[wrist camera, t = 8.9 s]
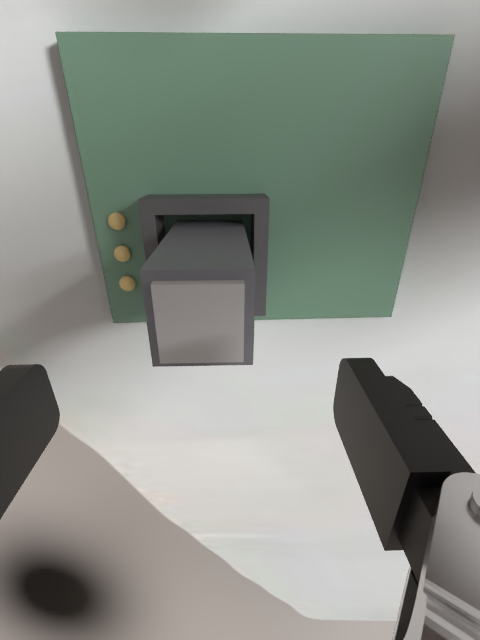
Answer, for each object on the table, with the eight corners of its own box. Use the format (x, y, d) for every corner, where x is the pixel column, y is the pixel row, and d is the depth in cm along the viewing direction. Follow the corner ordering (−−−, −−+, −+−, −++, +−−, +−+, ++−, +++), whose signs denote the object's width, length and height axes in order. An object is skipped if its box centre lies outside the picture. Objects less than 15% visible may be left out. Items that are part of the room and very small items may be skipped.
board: (443, 40, 18) (490, 15, 14) (385, 311, 25) (408, 333, 22) (64, 38, 17) (28, 11, 14) (117, 316, 24) (101, 340, 21)
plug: (242, 219, 20) (256, 272, 11) (241, 280, 22) (253, 370, 13) (177, 219, 20) (137, 273, 11) (182, 281, 22) (150, 372, 13)
